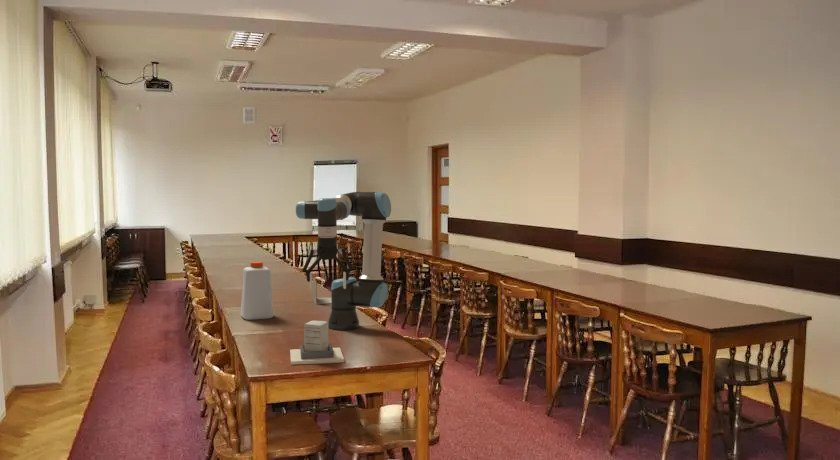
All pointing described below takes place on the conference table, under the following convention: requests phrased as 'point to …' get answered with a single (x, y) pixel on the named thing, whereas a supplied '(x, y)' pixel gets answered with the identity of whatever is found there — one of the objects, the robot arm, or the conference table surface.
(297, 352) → the base plate
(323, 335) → the supplement box
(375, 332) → the conference table surface
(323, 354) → the collar
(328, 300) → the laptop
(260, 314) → the plastic bottle
